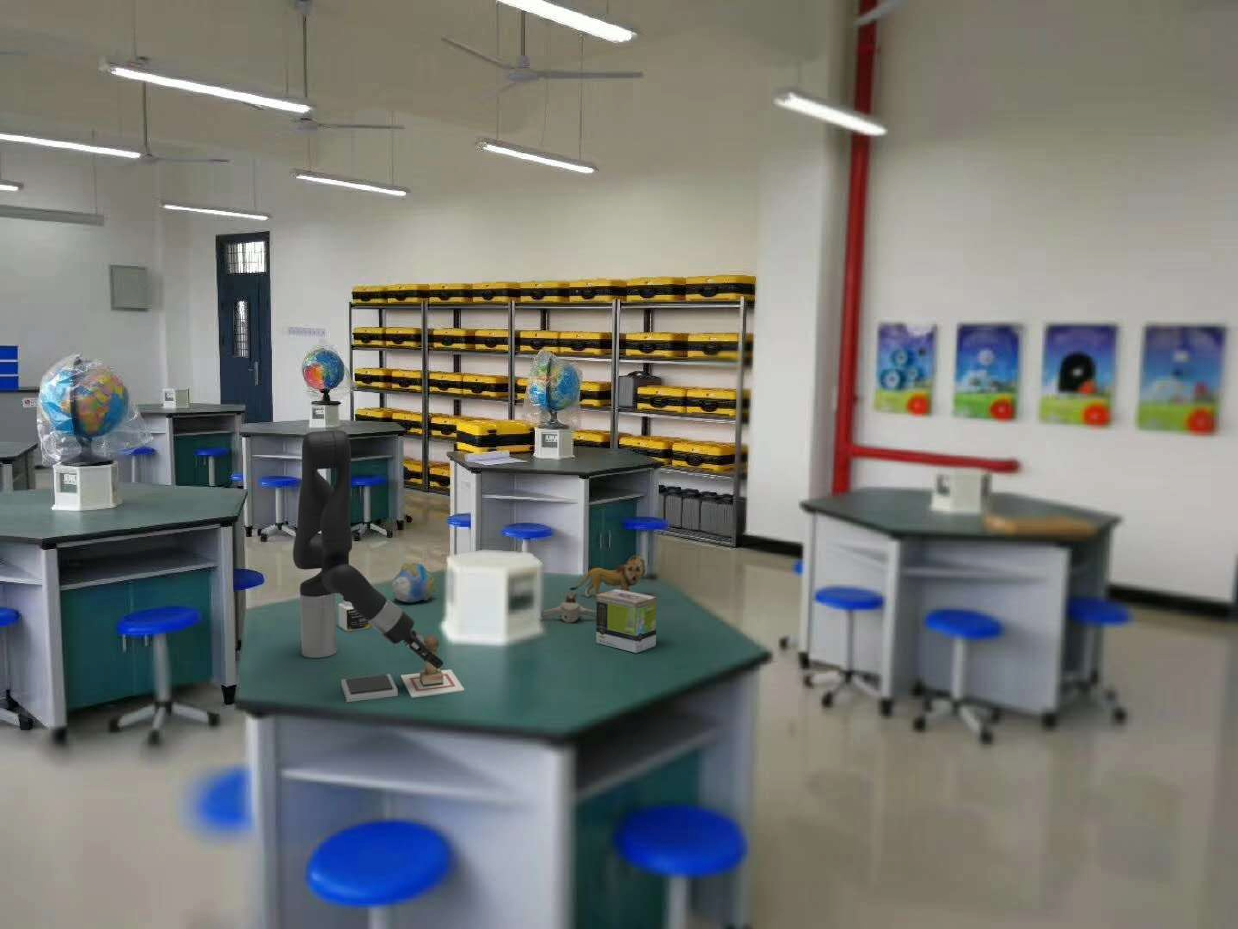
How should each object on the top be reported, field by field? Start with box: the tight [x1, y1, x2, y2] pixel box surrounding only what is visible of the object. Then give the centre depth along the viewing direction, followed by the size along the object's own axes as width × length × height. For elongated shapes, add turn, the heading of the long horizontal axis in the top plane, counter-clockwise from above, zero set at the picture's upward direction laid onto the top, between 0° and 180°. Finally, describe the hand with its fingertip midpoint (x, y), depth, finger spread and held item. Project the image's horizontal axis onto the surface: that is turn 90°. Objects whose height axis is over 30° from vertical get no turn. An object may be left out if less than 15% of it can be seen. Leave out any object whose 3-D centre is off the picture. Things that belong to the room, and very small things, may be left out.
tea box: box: [595, 588, 657, 654], centre depth 277 cm, size 15×10×15 cm, turn 51°
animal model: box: [569, 555, 646, 599], centre depth 328 cm, size 9×26×15 cm, turn 80°
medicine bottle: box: [338, 596, 371, 633], centre depth 291 cm, size 7×7×12 cm
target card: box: [400, 669, 465, 699], centre depth 244 cm, size 16×13×1 cm
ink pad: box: [341, 673, 399, 703], centre depth 238 cm, size 12×12×2 cm
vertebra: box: [540, 591, 596, 624], centre depth 302 cm, size 20×11×10 cm, turn 92°
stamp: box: [419, 635, 443, 687], centre depth 243 cm, size 5×5×12 cm
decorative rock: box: [391, 562, 436, 604], centre depth 322 cm, size 13×15×14 cm
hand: (437, 660), depth 244 cm, fingers open, 7 cm apart
